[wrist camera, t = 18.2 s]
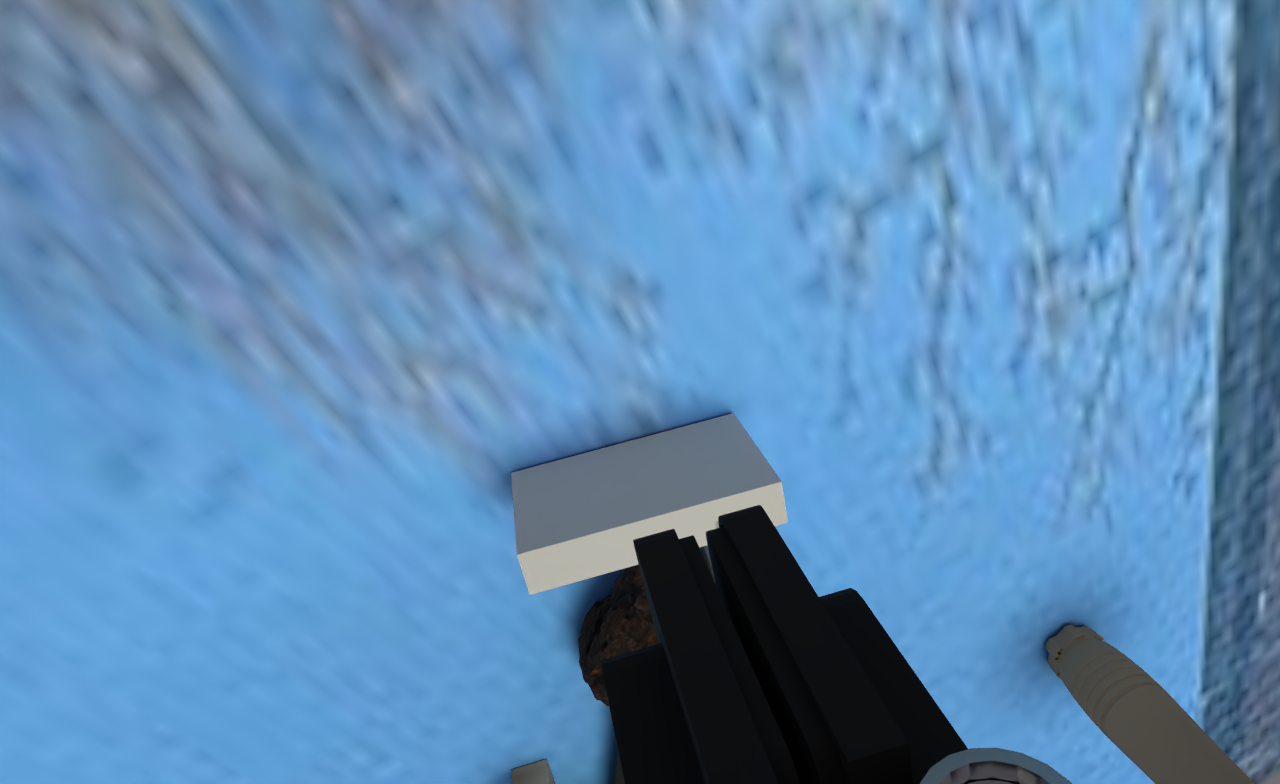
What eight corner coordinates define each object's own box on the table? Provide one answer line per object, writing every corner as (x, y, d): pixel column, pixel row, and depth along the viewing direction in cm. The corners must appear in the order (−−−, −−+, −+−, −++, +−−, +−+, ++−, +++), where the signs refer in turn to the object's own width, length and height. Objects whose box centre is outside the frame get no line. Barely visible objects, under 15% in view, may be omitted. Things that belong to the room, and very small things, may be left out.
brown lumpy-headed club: (685, 777, 49) (708, 862, 44) (572, 788, 48) (581, 877, 43) (709, 519, 43) (739, 584, 38) (578, 525, 42) (590, 593, 36)
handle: (1011, 682, 51) (1208, 916, 37) (1054, 594, 49) (1278, 808, 35) (1077, 688, 52) (1290, 916, 38) (1121, 602, 50) (1363, 811, 36)
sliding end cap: (556, 621, 43) (570, 721, 36) (511, 472, 39) (517, 554, 33) (760, 564, 44) (807, 651, 37) (733, 413, 40) (781, 481, 34)
